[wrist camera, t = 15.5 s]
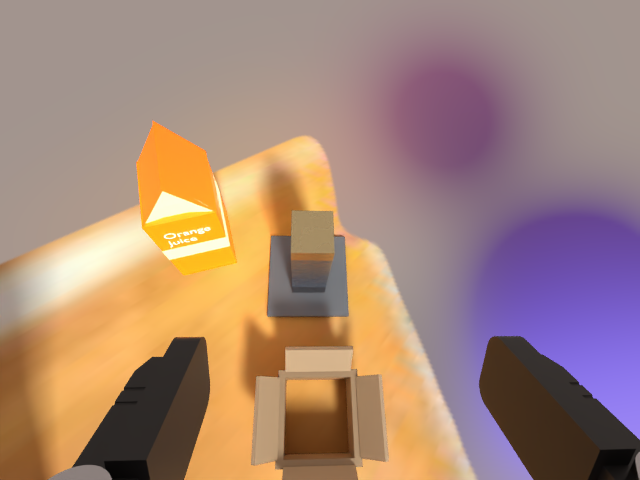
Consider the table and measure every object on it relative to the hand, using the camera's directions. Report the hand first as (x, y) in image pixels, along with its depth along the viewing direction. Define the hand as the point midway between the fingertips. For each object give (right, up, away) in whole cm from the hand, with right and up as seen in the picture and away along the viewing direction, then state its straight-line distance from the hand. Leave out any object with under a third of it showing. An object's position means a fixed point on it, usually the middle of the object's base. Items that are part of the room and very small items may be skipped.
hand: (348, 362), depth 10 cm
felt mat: (-2, -2, +40) cm, 40 cm away
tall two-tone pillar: (-2, -2, +39) cm, 39 cm away
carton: (-1, -18, +32) cm, 37 cm away
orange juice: (-18, +3, +41) cm, 45 cm away
